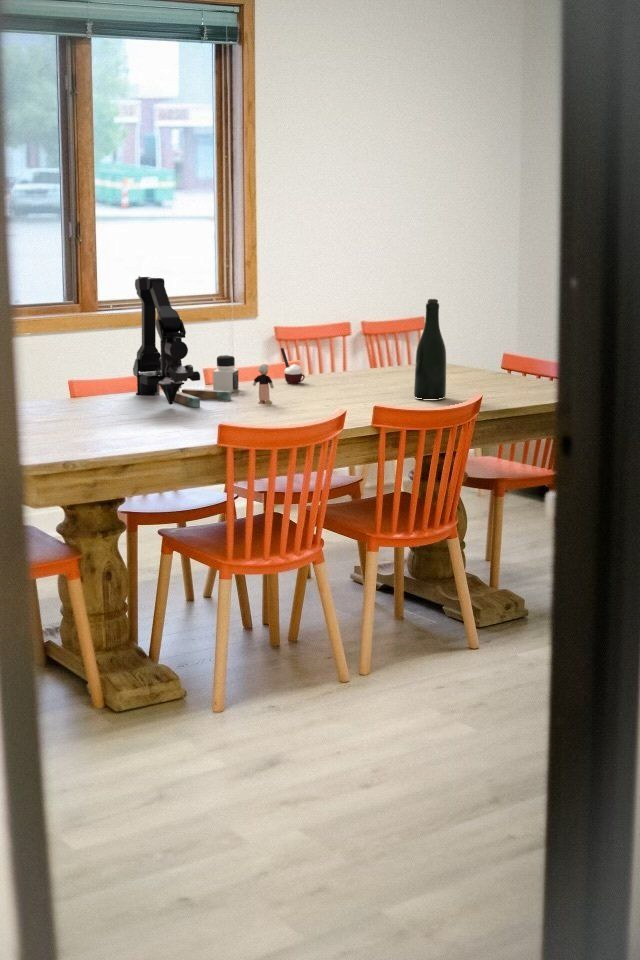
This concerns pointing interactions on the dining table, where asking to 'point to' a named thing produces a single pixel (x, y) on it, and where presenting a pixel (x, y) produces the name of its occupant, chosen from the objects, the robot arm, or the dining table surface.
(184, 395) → the tong leg
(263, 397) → the grandmother figurine
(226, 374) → the medicine bottle
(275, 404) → the dining table surface
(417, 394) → the dark wine bottle
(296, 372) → the cocoa
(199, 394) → the base
